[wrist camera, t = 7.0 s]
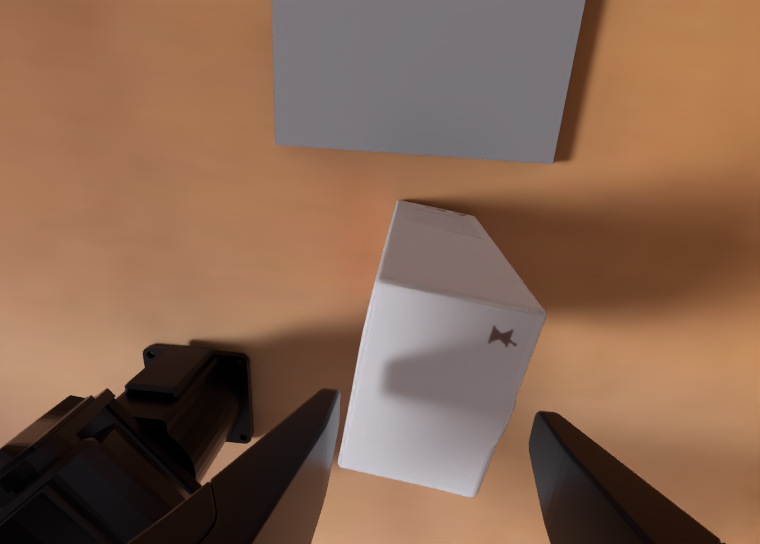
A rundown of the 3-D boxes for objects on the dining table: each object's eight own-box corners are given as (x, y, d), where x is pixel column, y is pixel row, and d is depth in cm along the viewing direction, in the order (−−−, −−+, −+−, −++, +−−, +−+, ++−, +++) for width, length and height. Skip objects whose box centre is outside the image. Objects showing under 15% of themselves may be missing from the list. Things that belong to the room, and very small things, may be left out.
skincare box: (395, 197, 20) (374, 271, 9) (476, 214, 20) (558, 310, 9) (372, 302, 22) (332, 472, 11) (446, 318, 22) (482, 505, 11)
